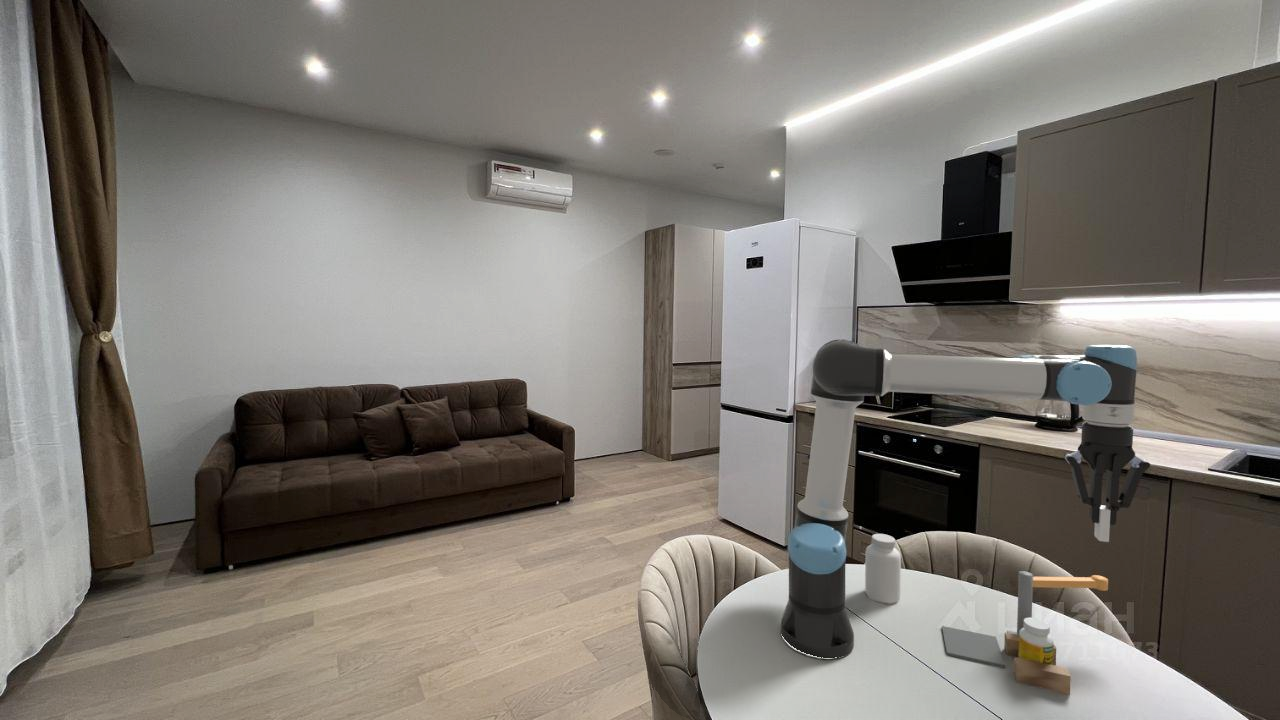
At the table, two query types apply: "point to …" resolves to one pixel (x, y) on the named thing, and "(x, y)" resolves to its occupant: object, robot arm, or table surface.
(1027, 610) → the grey orange l-shaped piece
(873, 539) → the pill bottle
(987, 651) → the mat
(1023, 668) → the wooden block set
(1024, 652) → the supplement bottle
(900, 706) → the table surface
